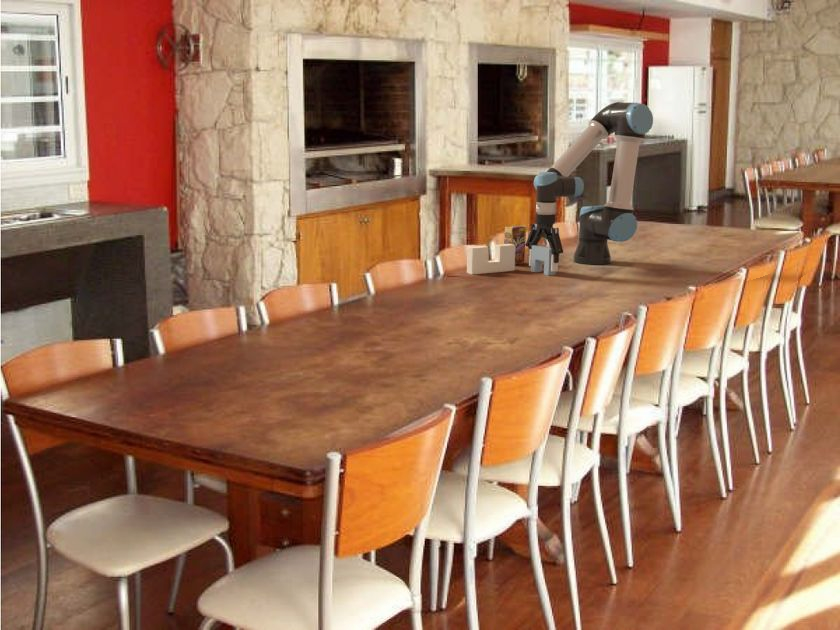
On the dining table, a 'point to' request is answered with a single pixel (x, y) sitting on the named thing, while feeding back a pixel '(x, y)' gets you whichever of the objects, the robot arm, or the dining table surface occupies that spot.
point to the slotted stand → (501, 262)
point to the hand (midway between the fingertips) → (543, 268)
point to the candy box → (516, 241)
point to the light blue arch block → (541, 259)
